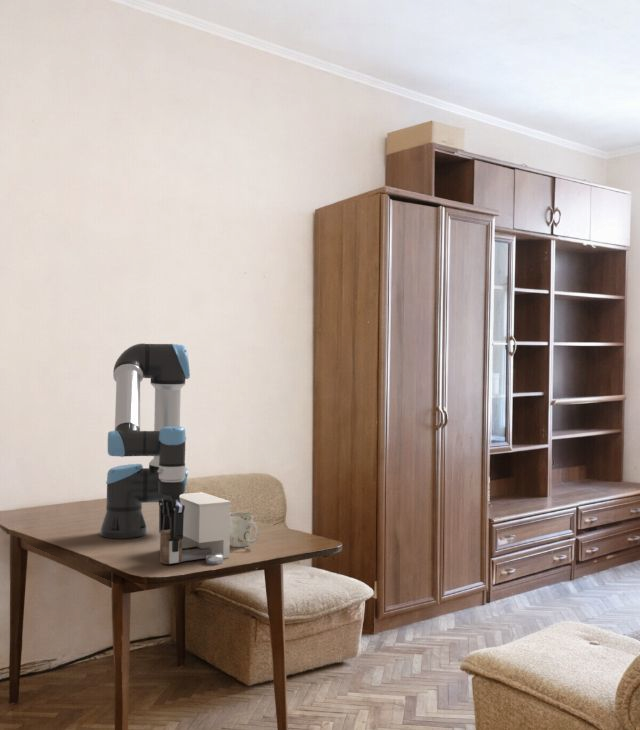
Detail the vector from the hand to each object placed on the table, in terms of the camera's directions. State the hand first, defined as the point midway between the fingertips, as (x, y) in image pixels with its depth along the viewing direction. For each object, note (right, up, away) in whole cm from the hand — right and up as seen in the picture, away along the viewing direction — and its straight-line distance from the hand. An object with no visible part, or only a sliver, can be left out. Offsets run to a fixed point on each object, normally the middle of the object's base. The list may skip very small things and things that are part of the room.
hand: (170, 560), depth 227 cm
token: (+12, -1, +2) cm, 13 cm away
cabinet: (+6, -1, +14) cm, 15 cm away
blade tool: (+4, 0, +3) cm, 5 cm away
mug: (+19, -1, +24) cm, 30 cm away
